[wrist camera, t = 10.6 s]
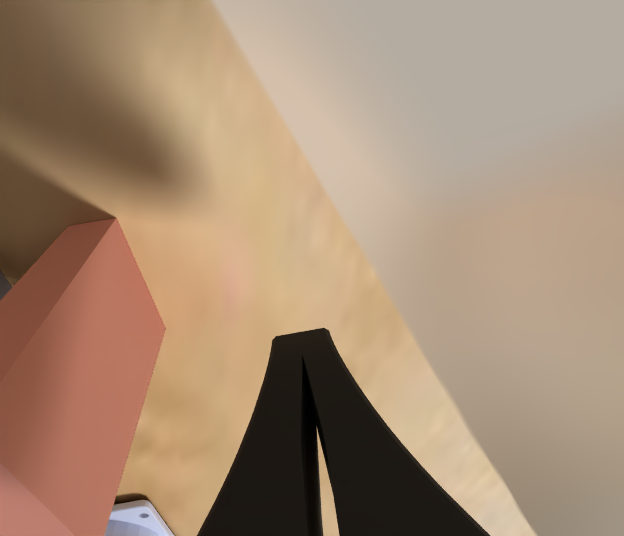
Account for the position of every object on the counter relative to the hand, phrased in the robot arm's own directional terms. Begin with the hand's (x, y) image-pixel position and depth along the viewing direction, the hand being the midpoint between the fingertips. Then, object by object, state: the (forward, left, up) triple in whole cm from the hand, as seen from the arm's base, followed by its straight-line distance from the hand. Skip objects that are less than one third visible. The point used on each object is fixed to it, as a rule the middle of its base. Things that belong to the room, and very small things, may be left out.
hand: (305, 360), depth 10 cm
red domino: (0, +6, -5) cm, 8 cm away
